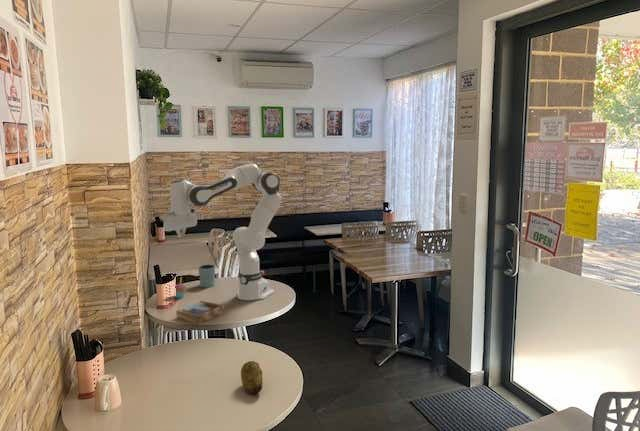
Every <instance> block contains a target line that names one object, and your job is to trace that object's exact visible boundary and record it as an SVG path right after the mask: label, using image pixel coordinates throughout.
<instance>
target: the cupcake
mask: <svg viewBox="0 0 640 431" xmlns="http://www.w3.org/2000/svg"><path fill="white" fill-rule="evenodd" d="M182 277H183V276H180V280H179V284H175V285H176V286H175V288H176V297H177V298H176V297H175V298H176V299H182V298H184V296H185V293H186V291H187V288H188V286H186V285H184V284H182V279H183V278H182Z"/></svg>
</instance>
